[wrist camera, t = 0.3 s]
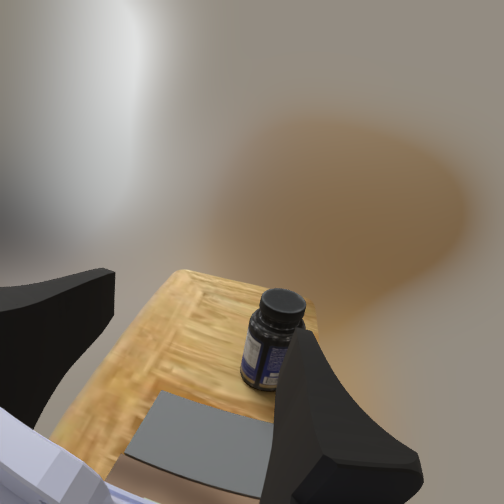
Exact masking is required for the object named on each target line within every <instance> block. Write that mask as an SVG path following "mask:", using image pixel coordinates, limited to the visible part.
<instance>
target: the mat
mask: <svg viewBox="0 0 504 504" xmlns="http://www.w3.org/2000/svg"><path fill="white" fill-rule="evenodd" d="M273 427H274V424H272V423H268V422H264V421H260V420H256V419H252V418H248V417H245V416H241V415H237V414H234V413H230V412H227V411H223V410H220V409H216V408H213V407H210V406H207V405H203V404H200V403H197V402H194V401H191V400H188V399H185V398H182V397H179V396H177V395H174V394H171V393H168V392H165V391H163V390H161V392H160V394H159V395H158V397H157V399H156V400H155V402H154V403H153V405H152V407H151V408H150V410H149V412H148V413H147V415H146V417H145V418H144V420H143V422H142V423H141V425H140V427H139V428H138V430H137V432H136V433H135V435H134V437H133V438H132V440H131V442H130V443H129V445H128V447H127V448H126V450H125V452H124V453H125V455H127V456H129V457H131V458H133V459H136V460H138V461H140V462H143V463H145V464H148V465H150V466H152V467H155V468H158V469H160V470H163V471H165V472H168V473H171V474H173V475H176V476H179V477H182V478H185V479H188V480H191V481H194V482H197V483H200V484H203V485H206V486H210V487H213V488H216V489H220V490H223V491H227V492H231V493H235V494H239V495H243V496H247V497H251V498H255V499H260V498H261V494H262V490H263V485H264V481H265V477H266V472H267V468H268V463H269V458H270V453H271V448H272V440H273Z"/></svg>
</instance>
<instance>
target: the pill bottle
mask: <svg viewBox="0 0 504 504" xmlns="http://www.w3.org/2000/svg"><path fill="white" fill-rule="evenodd" d="M259 307H260V308H259V309H257V310H256V311H255V312H254V313H253V314H252V316H251V318H250V321H249V327H248V332H247V337H246V342H245V347H244V352H243V357H242V363H241V367H240V373H241V376H242V378H243V380H244V381H245V382H246V383H247V384H248V385H250V386H252V387H254V388H256V389H259V390H263V391H275V390H276V387H277V382H278V377H279V372H280V367H281V365H282V362H283V360H284V357H285V354H286V352H287V349H288V347H289V344H290V341H291V339H292V336H293V333H294V331H295V328H296V327H298V328H302V329H306V326H305V323H304V321H303V319H302V318H303V316H304V312H305V309H306V302H305V300H304V299H303V298H302V296H300V295H299V294H297V293H295V292H293V291H290V290H287V289H280V288H275V289H269V290H267V291H265V292H264V293H263V294H262V296H261V300H260V305H259Z"/></svg>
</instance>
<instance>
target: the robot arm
mask: <svg viewBox="0 0 504 504" xmlns="http://www.w3.org/2000/svg"><path fill="white" fill-rule="evenodd" d="M114 292H115V272H114V271H111V270H108V269H105V268H98V269H93V270H89V271H85V272H81V273H77V274H73V275H69V276H65V277H62V278H57V279H53V280H49V281H44V282H40V283H35V284H29V285H21V286H13V287H0V504H157V503H155V502H152V501H149V500H147V499H144V498H141V497H139V496H136V495H134V494H132V493H129V492H127V491H124V490H122V489H120V488H118V487H115V486H113V485H111V484H109V483H107V482H105V481H103V480H102V478H101V477H100V475H98V474H97V473H96V472H95V471H94V470H93V469H91V468H90V467H89V466H88V465H87V464H86V463H84V462H83V461H82V460H80V459H79V458H77V457H75V456H74V455H72V454H71V453H69V452H68V451H67V450H65V449H63V448H62V447H60V446H58V445H57V444H55V443H53V442H52V441H50V440H48V439H47V438H45V437H43V436H42V435H40V434H38V433H37V432H36V431H34V430H33V429H34V427H35V425H36V423H37V421H38V418H39V417H40V415H41V413H42V411H43V409H44V407H45V406H46V404H47V402H48V400H49V399H50V397H51V395H52V394H53V392H54V391H55V389H56V387H57V386H58V384H59V383H60V381H61V380H62V378H63V377H64V375H65V374H66V373H67V371H68V370H69V369H70V368H71V366H72V365H73V364H74V363H75V362H76V361H77V360H78V359H79V358H80V356H81V355H82V354H83V353H84V352H85V351H86V350H87V349H88V348H89V347H90V345H92V343H93V342H94V341H95V340H96V339H97V338H98V337H99V335H100V334H101V333H102V332H103V331H104V329H105V328H106V326H107V325H108V324H109V322H110V320H111V319H112V317H113V316H114V294H115V293H114ZM423 483H424V479H423V473H422V468H421V464H420V460H419V457H418V454H417V453H416V452H415V451H413V450H412V449H410V448H409V447H407V446H406V445H404V444H402V443H401V442H399V441H398V440H396V439H395V438H394V437H392V436H391V435H390V434H389V433H387V432H386V431H385V430H384V429H382V428H381V427H380V426H379V425H378V424H377V423H375V422H374V421H373V420H372V419H371V418H370V417H369V416H368V415H367V414H366V413H365V412H364V411H363V410H362V409H361V408H360V407H359V405H358V404H357V403H356V402H355V401H354V400H353V398H352V397H351V396H350V395H349V393H348V392H347V391H346V390H345V388H344V387H343V386H342V384H341V383H340V381H339V380H338V378H337V377H336V375H335V374H334V372H333V370H332V369H331V367H330V365H329V363H328V362H327V360H326V358H325V356H324V354H323V352H322V350H321V348H320V346H319V344H318V342H317V340H316V338H315V336H314V334H313V332H312V331H310V330H306V329H302V328H298V327H296V328H295V331H294V333H293V336H292V339H291V341H290V344H289V347H288V349H287V352H286V354H285V357H284V360H283V362H282V365H281V367H280V372H279V377H278V382H277V387H276V396H275V411H274V427H273V440H272V448H271V453H270V458H269V463H268V468H267V472H266V477H265V481H264V485H263V490H262V494H261V498H260V502H259V504H404V503H405V502H407V501H408V500H409V499H410V498H411V497H413V496H414V495H415V494H416V493H417V492H418V491H419V490H420V488H421V487H422V485H423Z"/></svg>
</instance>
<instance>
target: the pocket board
mask: <svg viewBox="0 0 504 504" xmlns="http://www.w3.org/2000/svg"><path fill="white" fill-rule="evenodd" d="M105 482H107V483H109V484H111V485H113V486H115V487H118V488H120V489H122V490H124V491H127V492H129V493H132V494H134V495H136V496H139V497H141V498H144V497H145V498H147V499H150V500H152V501H155V502H157V503H160V504H259V502H260V500H257V499H253V498H248V497H244V496H240V495H236V494H232V493H228V492H225V491H221V490H217V489H214V488H211V487H207V486H204V485H201V484H198V483H195V482H192V481H189V480H186V479H183V478H180V477H177V476H174V475H172V474H169V473H166V472H164V471H161V470H158V469H156V468H153V467H151V466H148V465H146V464H144V463H141V462H139V461H137V460H134V459H132V458H130V457H127V456H125V455H123V454H121V455H120V456H119V458H118V459H117V461H116V463H115V464H114V466H113V468H112V469H111V471H110V473H109V474H108V476H107V478H106V479H105Z"/></svg>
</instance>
